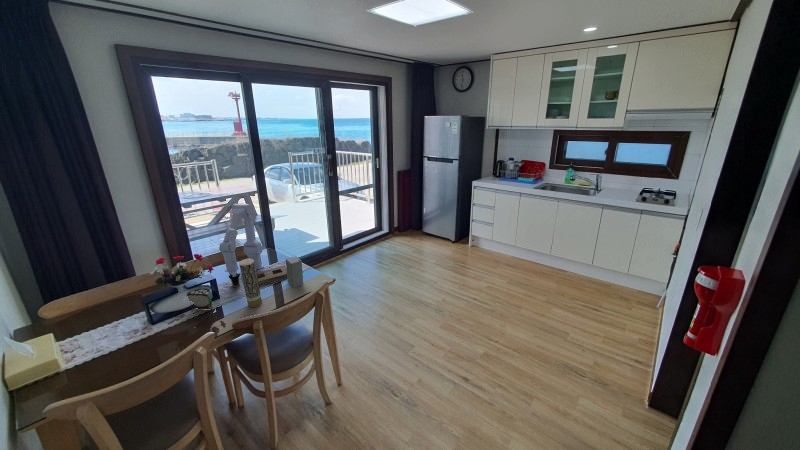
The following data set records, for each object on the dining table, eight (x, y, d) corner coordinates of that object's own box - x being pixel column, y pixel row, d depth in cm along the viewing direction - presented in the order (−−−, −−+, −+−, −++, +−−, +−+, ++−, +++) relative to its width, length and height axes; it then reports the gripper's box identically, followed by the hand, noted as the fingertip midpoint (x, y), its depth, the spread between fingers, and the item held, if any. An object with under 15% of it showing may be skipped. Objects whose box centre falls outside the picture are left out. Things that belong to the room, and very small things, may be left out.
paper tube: (256, 308, 158) (248, 265, 150) (245, 307, 160) (235, 264, 151) (264, 301, 165) (256, 259, 156) (253, 299, 166) (245, 258, 157)
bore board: (248, 279, 186) (247, 274, 185) (285, 269, 197) (284, 265, 196) (251, 288, 177) (250, 283, 176) (290, 277, 188) (289, 272, 187)
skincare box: (287, 282, 182) (283, 258, 177) (298, 278, 187) (295, 254, 181) (293, 288, 176) (289, 263, 171) (305, 283, 181) (301, 259, 175)
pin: (232, 285, 180) (229, 273, 177) (239, 283, 182) (236, 271, 179) (232, 288, 177) (230, 275, 174) (240, 286, 179) (237, 274, 176)
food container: (220, 303, 163) (216, 287, 159) (212, 310, 157) (208, 294, 153) (198, 302, 164) (194, 286, 160) (190, 309, 158) (185, 292, 154)
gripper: (221, 258, 178) (226, 279, 182) (224, 268, 166) (229, 290, 171) (235, 255, 181) (239, 275, 186) (238, 264, 170) (243, 286, 174)
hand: (235, 282), depth 179 cm, fingers open, 7 cm apart
